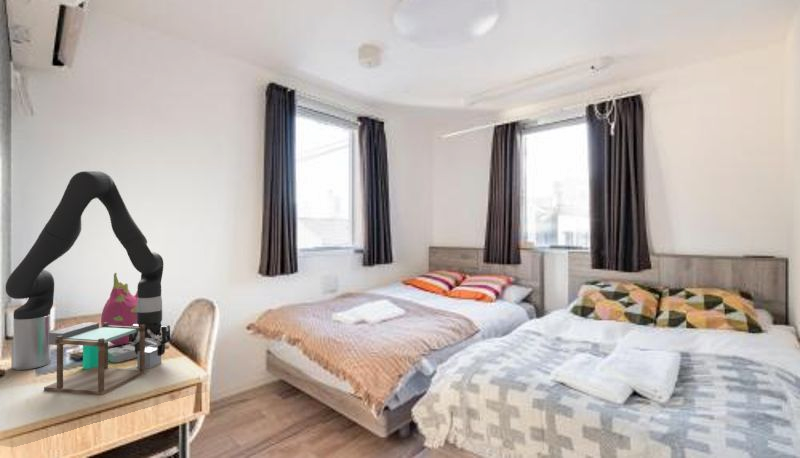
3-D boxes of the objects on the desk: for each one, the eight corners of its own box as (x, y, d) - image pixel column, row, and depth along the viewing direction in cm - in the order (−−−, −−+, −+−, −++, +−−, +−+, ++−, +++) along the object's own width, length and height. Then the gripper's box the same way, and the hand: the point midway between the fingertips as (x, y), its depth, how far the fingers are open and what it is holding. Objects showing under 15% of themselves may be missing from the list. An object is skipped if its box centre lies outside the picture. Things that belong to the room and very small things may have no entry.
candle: (92, 369, 127) (92, 335, 127) (78, 368, 128) (78, 333, 128) (109, 363, 133) (109, 330, 133) (95, 361, 134) (95, 328, 134)
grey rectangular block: (137, 367, 130) (137, 351, 130) (148, 361, 135) (148, 346, 135) (150, 368, 130) (150, 352, 130) (161, 362, 135) (161, 347, 135)
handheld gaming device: (103, 359, 138) (104, 349, 138) (148, 348, 150) (148, 339, 150) (113, 365, 133) (113, 354, 133) (158, 353, 145) (158, 343, 145)
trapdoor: (48, 344, 113) (48, 332, 113) (86, 332, 125) (86, 322, 125) (103, 348, 111) (103, 336, 111) (136, 335, 123) (136, 325, 123)
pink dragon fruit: (140, 348, 148) (140, 273, 148) (96, 354, 142) (96, 275, 141) (144, 336, 164) (144, 268, 163) (105, 341, 157) (105, 270, 156)
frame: (44, 390, 112) (44, 335, 111) (94, 369, 127) (94, 321, 127) (101, 395, 109) (101, 339, 109) (145, 373, 125) (145, 324, 125)
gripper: (122, 310, 129) (122, 357, 129) (159, 312, 127) (160, 359, 128) (140, 306, 137) (140, 349, 137) (175, 307, 135) (175, 351, 135)
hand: (149, 354), depth 132 cm, fingers open, 8 cm apart
